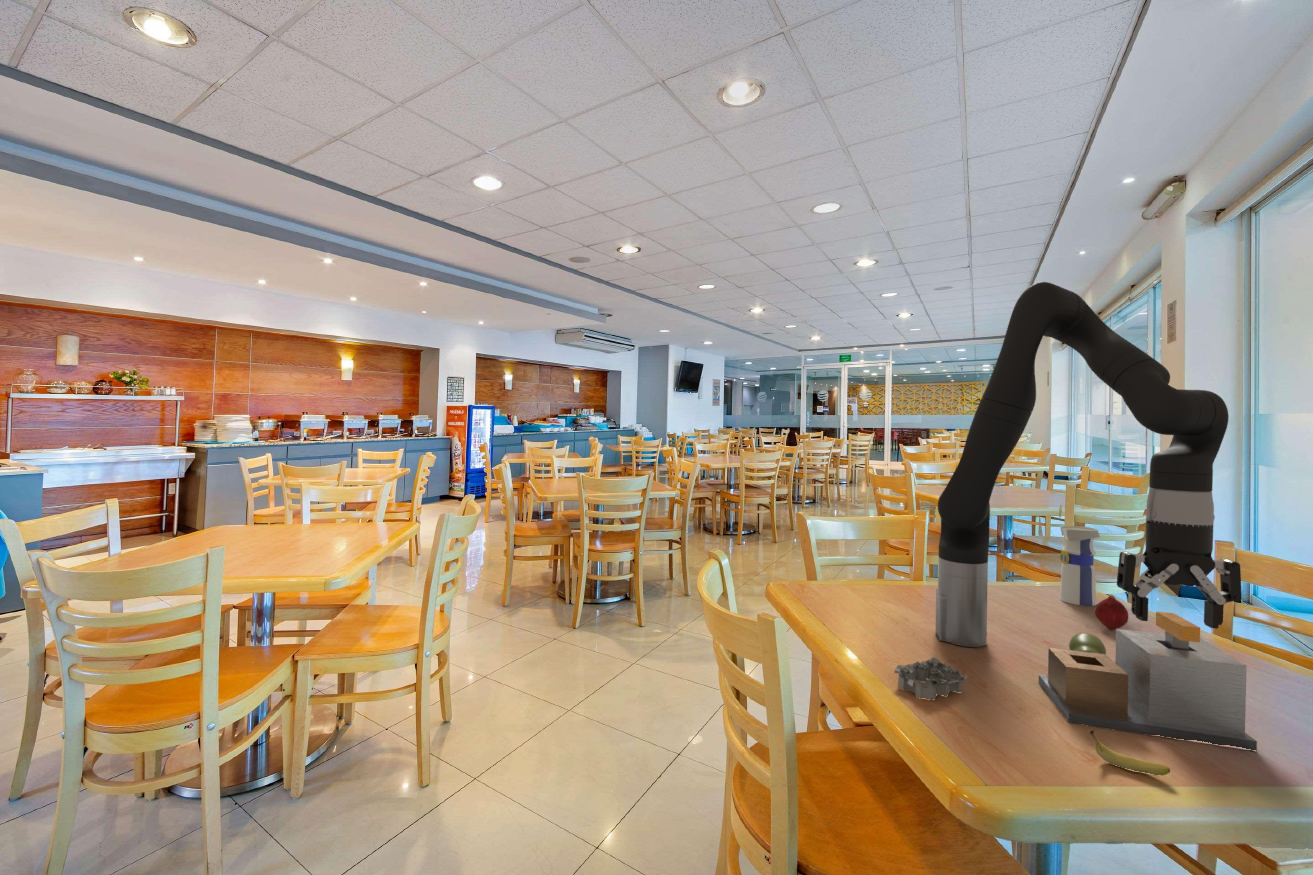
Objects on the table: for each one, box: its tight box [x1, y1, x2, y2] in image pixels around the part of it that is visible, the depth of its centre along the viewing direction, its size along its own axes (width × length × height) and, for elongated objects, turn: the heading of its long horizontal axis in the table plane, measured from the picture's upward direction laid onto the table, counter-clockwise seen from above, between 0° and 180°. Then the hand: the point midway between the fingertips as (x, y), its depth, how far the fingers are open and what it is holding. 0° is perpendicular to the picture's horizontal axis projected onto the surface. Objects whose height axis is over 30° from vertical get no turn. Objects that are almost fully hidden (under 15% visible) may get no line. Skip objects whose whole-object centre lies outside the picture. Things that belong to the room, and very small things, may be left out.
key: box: [1155, 611, 1201, 651], centre depth 84 cm, size 7×2×8 cm, turn 161°
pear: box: [1068, 632, 1107, 655], centre depth 104 cm, size 6×5×10 cm
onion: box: [1094, 593, 1129, 631], centre depth 123 cm, size 6×6×8 cm
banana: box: [1088, 729, 1171, 776], centre depth 72 cm, size 8×2×4 cm, turn 50°
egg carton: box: [893, 656, 968, 700], centre depth 94 cm, size 11×8×4 cm
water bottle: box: [1058, 505, 1101, 607], centre depth 143 cm, size 8×9×25 cm
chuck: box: [1038, 628, 1258, 752], centre depth 86 cm, size 22×14×12 cm, turn 71°
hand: (1175, 622), depth 84 cm, fingers open, 8 cm apart
